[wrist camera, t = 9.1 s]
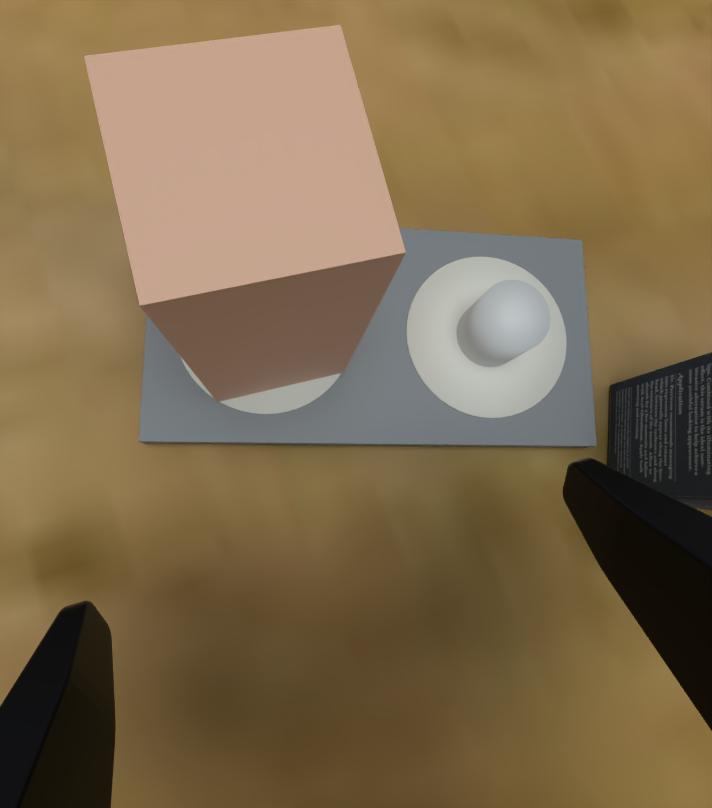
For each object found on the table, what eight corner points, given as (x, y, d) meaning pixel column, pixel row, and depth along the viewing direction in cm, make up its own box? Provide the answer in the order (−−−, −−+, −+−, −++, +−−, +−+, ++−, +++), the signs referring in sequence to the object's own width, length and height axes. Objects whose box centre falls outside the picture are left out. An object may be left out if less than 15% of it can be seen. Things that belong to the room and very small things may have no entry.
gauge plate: (584, 447, 25) (640, 440, 21) (145, 443, 22) (115, 434, 19) (571, 249, 27) (620, 208, 23) (158, 223, 24) (134, 172, 20)
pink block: (344, 372, 23) (406, 252, 11) (217, 402, 22) (139, 305, 10) (312, 255, 24) (340, 24, 12) (188, 279, 23) (84, 56, 11)
